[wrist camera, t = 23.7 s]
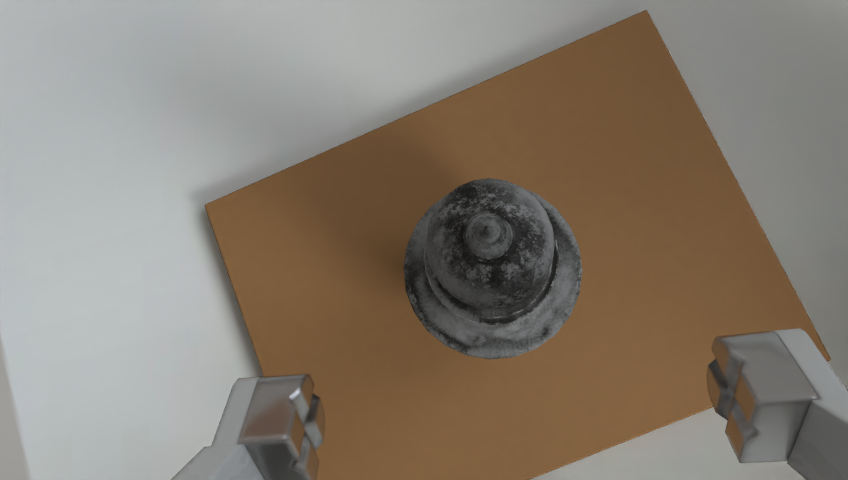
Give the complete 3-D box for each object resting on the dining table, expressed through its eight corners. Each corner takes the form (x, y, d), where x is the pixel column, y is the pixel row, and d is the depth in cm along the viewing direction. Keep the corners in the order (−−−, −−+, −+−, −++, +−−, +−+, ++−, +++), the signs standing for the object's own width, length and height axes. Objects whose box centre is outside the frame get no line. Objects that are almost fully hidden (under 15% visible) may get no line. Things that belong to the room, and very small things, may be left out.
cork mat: (330, 553, 22) (326, 560, 22) (210, 207, 25) (203, 204, 24) (823, 359, 21) (832, 360, 21) (643, 16, 24) (646, 8, 23)
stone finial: (436, 368, 22) (371, 423, 10) (402, 223, 23) (307, 124, 11) (586, 333, 22) (696, 348, 10) (545, 186, 23) (600, 42, 11)
